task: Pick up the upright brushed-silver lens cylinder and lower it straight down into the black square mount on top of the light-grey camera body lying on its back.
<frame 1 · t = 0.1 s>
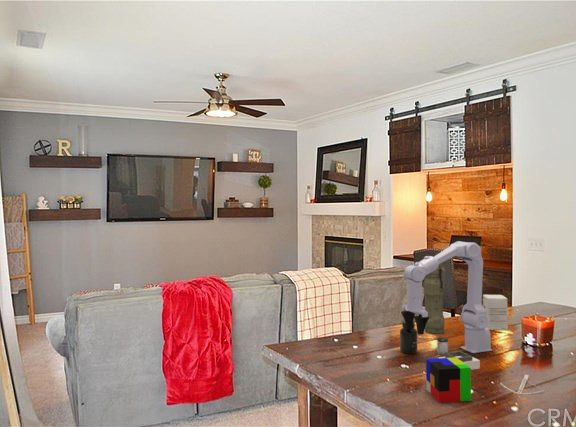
hand: (415, 331, 185), 10 cm above the table, tool pointing down, fingers open, 7 cm apart
camera body: (458, 367, 173), on the table
lens: (442, 353, 188), on the table
puzzle toy: (448, 395, 148), on the table
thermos: (434, 332, 221), on the table
crossbow: (523, 388, 154), on the table
supplement bottle: (408, 352, 192), on the table
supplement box: (495, 328, 226), on the table
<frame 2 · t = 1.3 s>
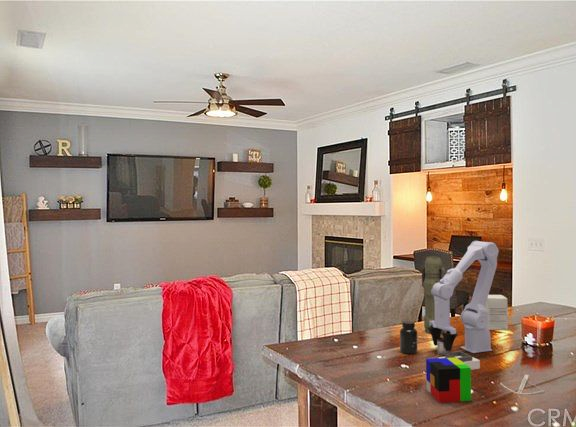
hand: (442, 347, 188), 2 cm above the table, tool pointing down, fingers open, 7 cm apart
nothing on the table moved.
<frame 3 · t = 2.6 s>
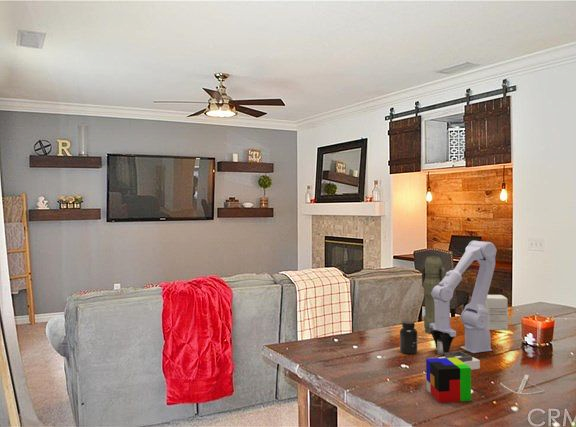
hand: (442, 350, 188), 1 cm above the table, tool pointing down, fingers closed on lens, 4 cm apart
lens: (442, 353, 188), on the table, touching gripper
everything else where it was.
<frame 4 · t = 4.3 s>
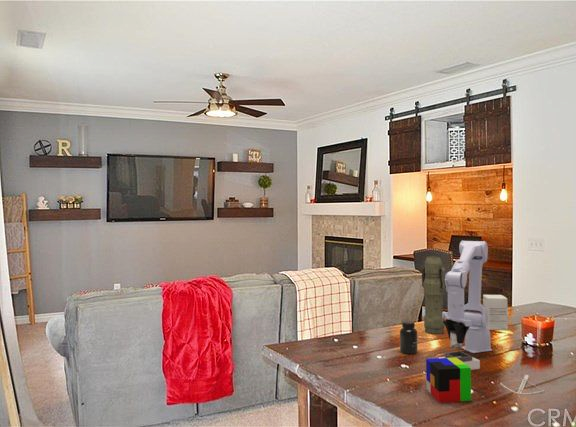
hand: (456, 341, 174), 9 cm above the table, tool pointing down, fingers closed on lens, 4 cm apart
lens: (456, 346, 174), point 7 cm above the table, touching gripper
everything else where it was.
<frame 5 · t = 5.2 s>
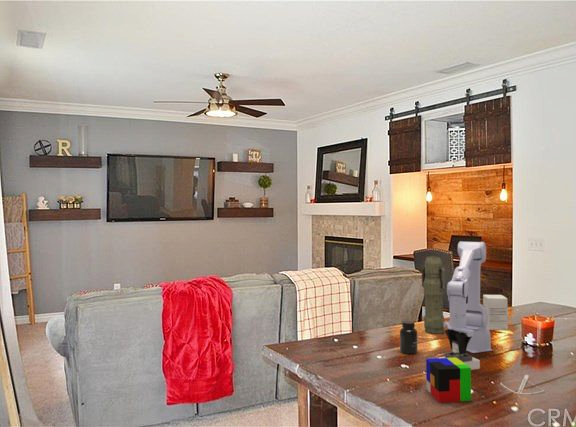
hand: (458, 351, 173), 6 cm above the table, tool pointing down, fingers closed on lens, 4 cm apart
lens: (458, 356, 173), point 4 cm above the table, touching gripper
everything else where it was.
when the fingers open (5 cm above the table, at t = 6.1 s): lens stays where it is, resting on camera body.
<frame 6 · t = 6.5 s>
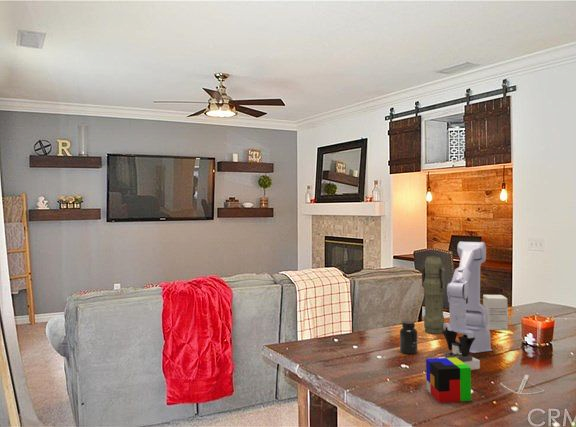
hand: (458, 352, 173), 5 cm above the table, tool pointing down, fingers open, 7 cm apart
lens: (458, 358, 173), point 3 cm above the table, touching camera body
everything else where it was.
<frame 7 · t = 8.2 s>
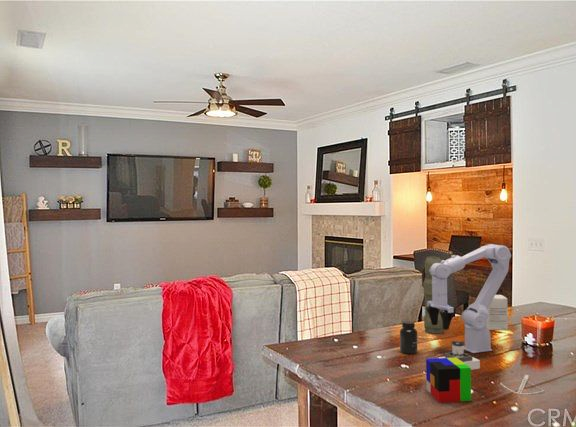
hand: (440, 327, 191), 10 cm above the table, tool pointing down, fingers open, 7 cm apart
nothing on the table moved.
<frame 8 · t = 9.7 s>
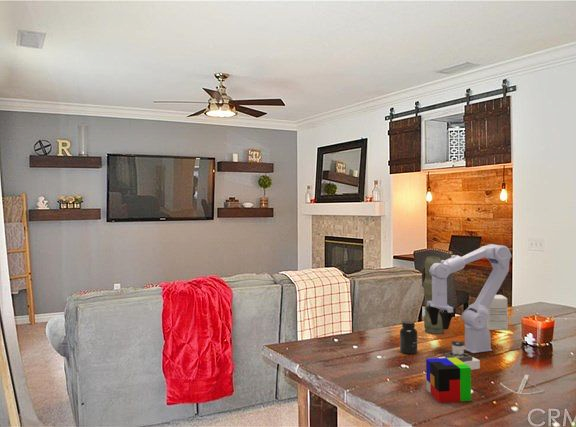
hand: (440, 326, 191), 10 cm above the table, tool pointing down, fingers open, 7 cm apart
nothing on the table moved.
at the end: lens 0.2 cm off-centre on the camera body, point 3.0 cm above the camera body's base; lens tilted 0°; the gripper is holding nothing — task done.
